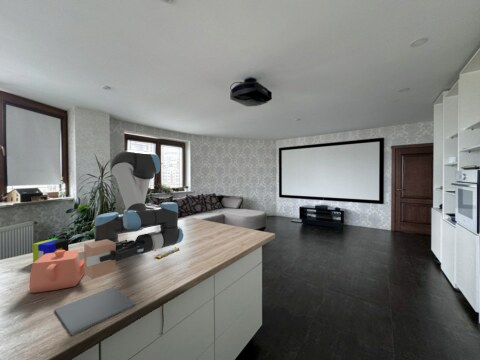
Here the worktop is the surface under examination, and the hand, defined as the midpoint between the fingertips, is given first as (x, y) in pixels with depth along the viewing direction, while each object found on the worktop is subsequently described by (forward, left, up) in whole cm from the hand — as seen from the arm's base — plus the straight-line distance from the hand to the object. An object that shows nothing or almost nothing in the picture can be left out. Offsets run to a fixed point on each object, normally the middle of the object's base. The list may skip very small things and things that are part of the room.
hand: (82, 259), depth 68 cm
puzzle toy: (-65, +5, -18) cm, 68 cm away
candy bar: (-26, +50, -19) cm, 59 cm away
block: (0, +5, -6) cm, 8 cm away
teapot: (-29, +3, -18) cm, 35 cm away
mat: (0, +4, -18) cm, 18 cm away
